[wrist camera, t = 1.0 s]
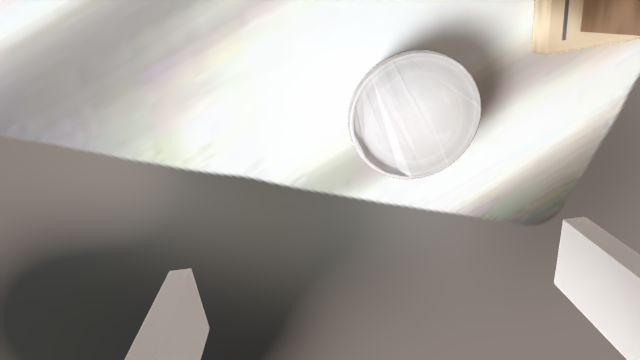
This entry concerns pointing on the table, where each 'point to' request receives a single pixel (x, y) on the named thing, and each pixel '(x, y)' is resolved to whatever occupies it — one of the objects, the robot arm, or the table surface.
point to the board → (565, 28)
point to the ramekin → (414, 114)
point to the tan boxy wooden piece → (611, 17)
